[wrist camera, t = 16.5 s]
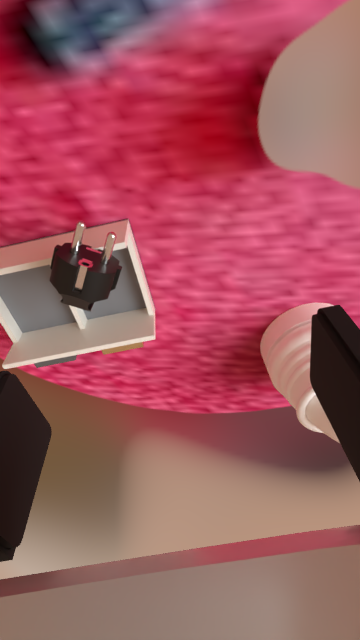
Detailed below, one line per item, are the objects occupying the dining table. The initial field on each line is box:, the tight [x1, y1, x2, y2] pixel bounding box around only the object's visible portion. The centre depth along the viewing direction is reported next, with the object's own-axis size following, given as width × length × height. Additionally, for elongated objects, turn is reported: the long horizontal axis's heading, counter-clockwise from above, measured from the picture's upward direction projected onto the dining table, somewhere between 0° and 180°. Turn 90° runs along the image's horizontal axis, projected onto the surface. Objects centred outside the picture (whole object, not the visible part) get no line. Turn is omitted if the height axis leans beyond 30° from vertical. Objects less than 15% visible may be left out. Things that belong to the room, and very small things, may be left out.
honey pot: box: [260, 303, 340, 443], centre depth 41 cm, size 13×13×18 cm
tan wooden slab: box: [102, 342, 143, 354], centre depth 43 cm, size 1×5×4 cm, turn 101°
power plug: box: [49, 221, 122, 312], centre depth 32 cm, size 6×8×12 cm
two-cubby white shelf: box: [0, 219, 155, 369], centre depth 38 cm, size 12×18×6 cm, turn 101°
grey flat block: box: [34, 355, 77, 368], centre depth 44 cm, size 1×5×4 cm, turn 101°
